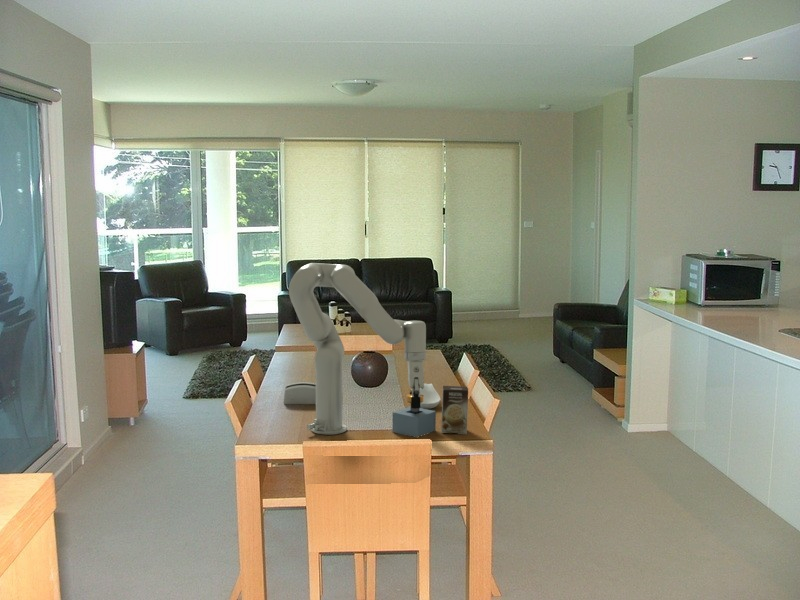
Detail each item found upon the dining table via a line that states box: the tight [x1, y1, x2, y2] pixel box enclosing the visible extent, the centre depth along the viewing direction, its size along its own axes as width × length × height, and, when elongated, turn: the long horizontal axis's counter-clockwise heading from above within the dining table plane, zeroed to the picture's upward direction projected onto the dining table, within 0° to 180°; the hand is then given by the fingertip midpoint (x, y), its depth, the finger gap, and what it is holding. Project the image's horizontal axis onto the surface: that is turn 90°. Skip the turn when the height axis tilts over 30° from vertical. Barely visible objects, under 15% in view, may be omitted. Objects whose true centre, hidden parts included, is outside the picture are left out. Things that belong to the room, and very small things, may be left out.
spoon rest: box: [420, 382, 441, 410], centre depth 316 cm, size 24×12×7 cm, turn 175°
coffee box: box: [440, 385, 469, 435], centre depth 276 cm, size 9×6×16 cm
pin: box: [406, 393, 424, 414], centre depth 276 cm, size 6×6×9 cm
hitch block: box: [391, 405, 437, 438], centre depth 276 cm, size 11×11×7 cm
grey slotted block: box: [283, 381, 316, 405], centre depth 313 cm, size 17×5×10 cm, turn 92°
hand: (414, 405), depth 275 cm, fingers closed on pin, 6 cm apart
